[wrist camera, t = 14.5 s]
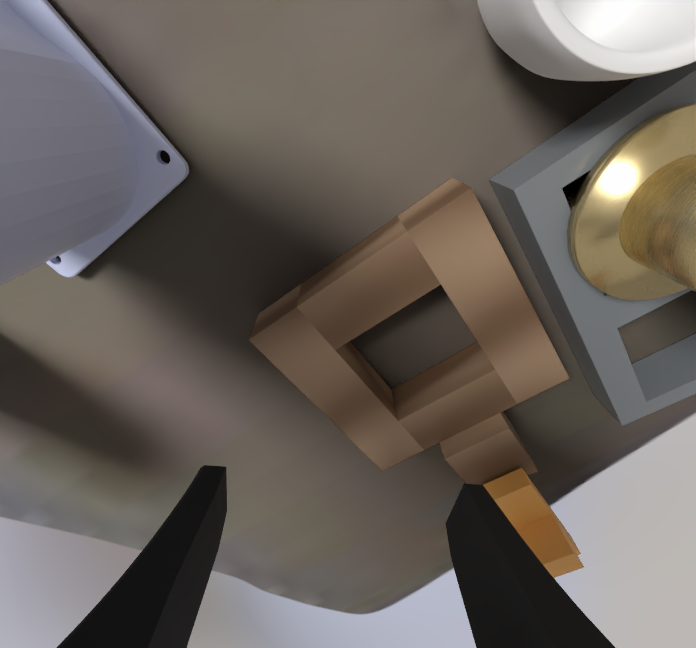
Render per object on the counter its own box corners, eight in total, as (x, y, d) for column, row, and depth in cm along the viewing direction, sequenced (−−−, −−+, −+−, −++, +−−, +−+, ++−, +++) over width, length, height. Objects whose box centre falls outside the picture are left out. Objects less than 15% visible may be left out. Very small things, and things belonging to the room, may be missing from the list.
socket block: (258, 313, 19) (243, 354, 15) (452, 177, 16) (481, 193, 13) (410, 471, 25) (421, 522, 22) (568, 394, 22) (607, 441, 19)
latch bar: (480, 486, 20) (502, 541, 17) (521, 467, 19) (550, 522, 17) (534, 550, 23) (559, 605, 21) (571, 537, 23) (602, 591, 20)
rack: (488, 179, 16) (513, 189, 14) (699, 35, 14) (769, 21, 11) (593, 395, 22) (622, 425, 20) (749, 321, 20) (800, 346, 18)
